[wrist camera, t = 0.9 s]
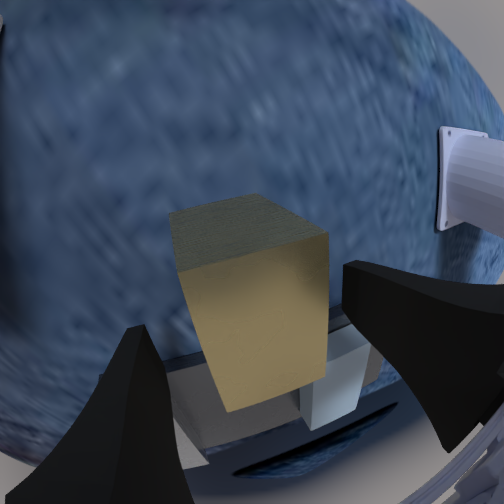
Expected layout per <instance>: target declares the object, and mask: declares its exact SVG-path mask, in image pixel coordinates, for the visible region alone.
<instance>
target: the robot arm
mask: <svg viewBox="0 0 504 504" xmlns="http://www.w3.org/2000/svg"><path fill="white" fill-rule="evenodd" d="M439 140H440V186H439V204H438V216H437V229H438V230H440V231H443V230H446V229H448V228H450V227H453V226H455V225H458V224H460V223H462V222H467V223H469V224H472V225H474V226H476V227H479V228H481V229H483V230H486V231H488V232H490V233H492V234H494V235H497V236H499V237H501V238H503V239H504V141H500V140H495V139H490V138H488V135H487V133H483V132H478V131H472V130H466V129H460V128H453V127H445V126H441V127H440V129H439ZM341 309H342V310H343V312H344V313H345V315H346V316H347V318H348V319H349V320H350V322H351V323H352V324H353V326H354V327H355V328H356V329H357V330H358V331H359V332H360V333H361V334H362V335H363V336H364V337H365V338H366V339H367V341H368V342H369V343H370V344H371V345H372V346H373V347H374V348H375V349H376V350H377V351H378V352H379V353H380V354H381V355H382V356H383V357H384V358H385V359H386V360H387V361H388V362H389V363H390V364H391V365H392V366H393V367H394V368H395V369H396V370H397V372H398V373H399V374H400V376H401V377H402V378H403V379H404V381H405V382H406V384H407V385H408V386H409V387H410V389H411V390H412V392H413V393H414V395H415V396H416V398H417V399H418V401H419V402H420V404H421V406H422V407H423V409H424V411H425V412H426V414H427V416H428V417H429V419H430V421H431V423H432V425H433V427H434V429H435V431H436V433H437V435H438V438H439V440H440V442H441V445H442V447H443V448H444V449H445V450H446V451H447V453H450V452H451V451H452V450H453V449H454V448H456V446H458V445H459V444H460V443H461V441H462V440H464V438H465V437H466V436H467V435H468V434H469V433H470V432H471V431H472V430H473V429H474V428H475V427H476V426H477V424H478V423H479V422H480V423H481V424H482V425H483V426H484V427H483V428H482V429H481V430H480V431H479V433H478V434H477V435H476V436H475V437H474V438H473V439H472V440H471V441H470V442H469V443H468V445H467V446H466V447H465V448H464V449H463V450H462V451H461V452H460V453H459V454H458V455H457V456H456V457H455V458H454V459H453V460H452V461H451V462H450V463H448V464H447V465H446V466H445V467H444V468H443V469H442V470H441V471H440V472H438V473H437V474H436V475H435V476H434V477H433V478H431V479H430V480H429V481H428V482H427V483H425V484H424V485H423V486H422V487H420V488H419V489H418V490H417V491H415V492H414V493H413V494H411V495H410V496H408V497H407V498H406V499H404V500H403V501H402V502H400V503H399V504H431V503H432V502H434V501H435V500H436V499H437V498H438V497H439V496H441V495H442V494H443V493H444V492H445V491H446V490H448V489H449V488H450V487H451V486H452V485H453V484H454V483H455V482H456V481H457V480H458V479H459V478H460V477H461V476H462V475H463V474H464V473H465V472H466V471H467V470H468V469H469V468H470V467H471V466H472V465H473V463H475V461H476V460H477V459H478V458H479V457H480V456H481V455H482V454H483V452H484V451H485V450H486V449H487V454H486V455H484V456H483V457H482V458H481V459H480V460H479V461H478V462H476V463H475V464H474V465H473V466H472V467H471V468H470V469H469V470H468V471H467V472H466V473H465V474H464V475H463V476H462V477H461V479H460V480H459V481H458V482H457V484H456V485H455V487H454V489H455V490H456V492H455V493H454V494H453V495H451V496H450V497H449V498H448V499H447V500H446V501H444V502H443V503H442V504H504V284H499V285H485V284H468V283H459V282H452V281H445V280H440V279H435V278H430V277H425V276H421V275H417V274H413V273H409V272H405V271H401V270H397V269H393V268H390V267H386V266H382V265H378V264H374V263H370V262H365V261H359V260H355V261H352V262H349V263H346V264H343V285H342V307H341ZM5 504H195V503H194V501H193V498H192V496H191V493H190V490H189V487H188V484H187V482H186V478H185V475H184V472H183V469H182V465H181V462H180V458H179V454H178V449H177V443H176V436H175V428H174V420H173V412H172V403H171V394H170V389H169V384H168V379H167V375H166V370H165V366H164V364H163V362H162V360H161V358H160V356H159V354H158V352H157V350H156V348H155V346H154V344H153V342H152V340H151V338H150V336H149V333H148V331H147V329H146V327H145V325H144V324H143V325H139V326H135V327H131V328H127V330H126V332H125V334H124V335H123V337H122V339H121V341H120V343H119V345H118V347H117V349H116V351H115V353H114V355H113V357H112V359H111V361H110V363H109V365H108V366H107V368H106V370H105V372H104V374H103V376H102V378H101V380H100V381H99V383H98V385H97V387H96V388H95V390H94V392H93V394H92V395H91V397H90V399H89V401H88V402H87V404H86V405H85V407H84V409H83V410H82V412H81V413H80V415H79V416H78V418H77V419H76V421H75V422H74V423H73V425H72V426H71V428H70V429H69V430H68V432H67V433H66V434H65V435H64V437H63V438H62V439H61V440H60V442H59V443H58V444H57V446H56V447H55V448H54V449H53V451H52V452H51V453H50V454H49V455H48V456H47V457H46V458H45V460H44V461H43V462H42V463H41V464H40V465H39V466H38V467H37V468H36V469H35V470H34V471H33V472H32V473H31V474H30V475H29V476H28V477H27V478H26V479H24V480H23V481H22V482H21V483H20V484H19V485H17V486H16V487H15V488H14V489H13V490H11V491H10V492H9V493H8V494H6V496H5Z"/></svg>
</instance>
